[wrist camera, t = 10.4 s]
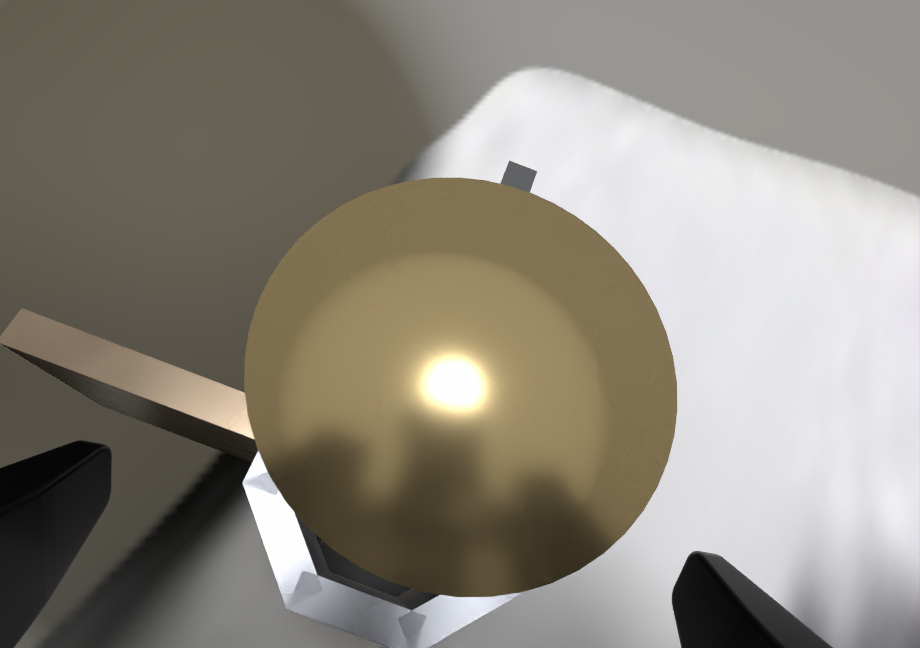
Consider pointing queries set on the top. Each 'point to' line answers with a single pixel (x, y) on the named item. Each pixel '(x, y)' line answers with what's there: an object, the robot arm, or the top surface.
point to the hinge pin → (460, 387)
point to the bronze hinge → (228, 429)
